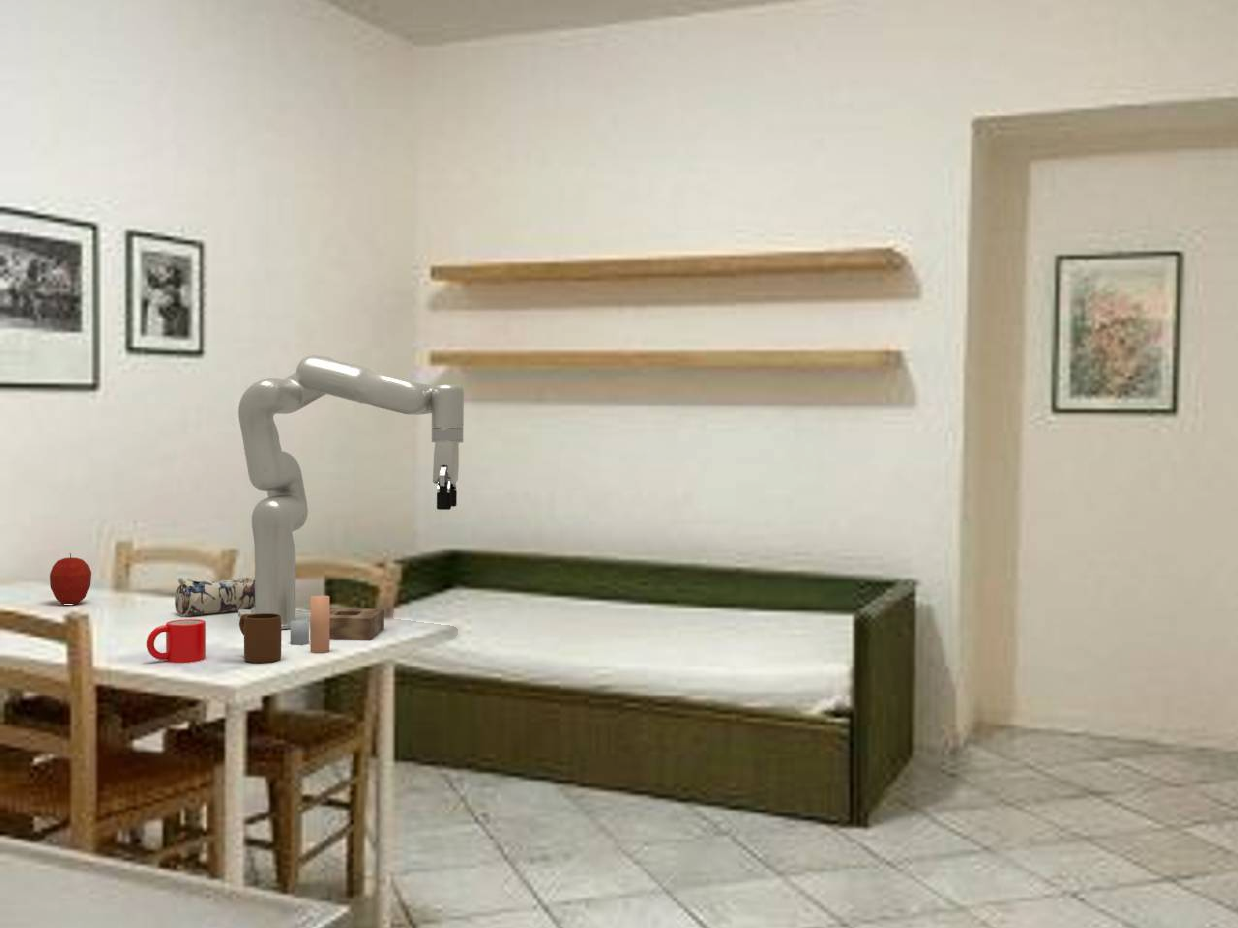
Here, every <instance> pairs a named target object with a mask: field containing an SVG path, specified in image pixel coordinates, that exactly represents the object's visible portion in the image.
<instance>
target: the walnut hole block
mask: <svg viewBox="0 0 1238 928" xmlns="http://www.w3.org/2000/svg"><path fill="white" fill-rule="evenodd" d="M309 617H310V618H309V636H310V635H311V616H309ZM384 629H385V608H361V607H360V608H359V607H358V608H355V607H354V608H350V607H329V640H337V641H338V640H339V641H341V640H343V641H344V640H345V641H346V640H347V641H372V640H373V639H374V638H376V637H377V636H378V635H380V634H381V632H383V631H384Z"/></svg>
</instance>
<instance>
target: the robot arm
mask: <svg viewBox="0 0 1238 928" xmlns="http://www.w3.org/2000/svg"><path fill="white" fill-rule="evenodd" d="M325 395H327V396H328V395H329V396H333V397H336V398H337V397H338V398H341V399H345V400H348V401H352V402H355V403H359V404H365V405H369V406H373V407H376V408H381V409H383V410H387V411H392V412H394V413H400V414H405V415H414V416H416V415H418V416H419V415H427V414H428V415H429V414H431V443H435V444H434V450H433V474H432V482H433V484H435V485H436V484H437V492H436V509H437V510H439V511H440V510H441V511H442V510H444V511H446V510H448V511H449V510H451V509H452V507H457V506H458V505H457V503H458V502H457V501H458V499H457V494H458V493H457V492H458V491H457V482H458V480H459V465H460V464H459V463H460V462H459V460H460V459H459V458H460V457H459V456H460V453H459V452H460V448H459V446H460V445H459V443H461V444H462V443H464V421H465V420H464V419H465V418H464V415H465V412H464V410H465V409H464V408H465V407H464V406H465V404H464V403H465V402H464V401H465V400H464V398H465V392H464V388H463V386H462V385H459V384H454V383H452V384H451V383H449V384H448V383H447V384H446V383H445V384H444V383H443V384H435V385H433V384H427V383H420V382H412V381H406V380H402V379H397V378H394V377H390V376H386V375H381V374H379V373H375V372H374V371H372V370H371V369H369V368H367V367H364V366H360V365H356V364H352V363H349V362H345V361H340V360H337V359H333V358H331V357H328V356H324V355H323V356H322V355H316V354H315V355H314V354H313V355H308V356H305V357H304V358H302V359H301V360H300V361H299V362H298V363H297V365H296V369H295V373H293V374H291V375H290V376H288V377H285V378H283V379H282V378H271V377H270V378H269V377H268V378H264V379H261V380H258V381H255V382H254V383H252V384H251V385H250V386H249V387H248V388H247V389H246V390H245V391H244V393H243V394H242V395H241V397H240V400H239V402H238V409H237V416H238V424H239V427H240V432H241V438H242V443H243V450H244V456H245V461H246V468H247V474H248V478H249V481H250V484H251V485H252V486H253V487H254V488H256V489H257V490H259V491H262V492H266V493H267V497H265V498H263V499H261V500H260V501H258V503H256V505H255V506H254V508H253V511H252V514H251V528H252V535H253V536H252V537H253V544H254V545H253V546H254V576H255V607H253V608H251V609H239V610H238V611H237V616H238V617H239V618H240V617H241V616H242V615H244V614H258V613H273V614H279V615H280V616H281V630H289V629H290V630H291V621H293V620H302V619H301V618H298V617H296V545H295V539H294V535H293V533H294V532H295V531H297V530H299V529H301V528H302V527H303V526H304V525H305V523H306V522H307V520H308V513H309V510H308V501H307V496H306V490H305V486H304V480H303V475H302V471H301V467H300V465H299V462H298V461H297V459H296V458H295V457H294V456H293V455H292V454H291V453H289V452H286V451H283V450H282V447H281V442H280V434H279V430H278V428H277V426H276V423H275V421H274V416H275V415H276V414H281V415H282V414H283V415H285V414H291V413H295V412H298V411H299V410H301V409H302V408H304V407H306V406H308V405H309V404H311V403H313V402H315V401H317V400H319V399H320V398H322V397H324V396H325Z"/></svg>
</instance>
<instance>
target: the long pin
mask: <svg viewBox="0 0 1238 928" xmlns="http://www.w3.org/2000/svg"><path fill="white" fill-rule="evenodd" d="M329 608H330V596H329V595H321V594H320V595H311V596H310V617H311V635H310V634H309V644H310V647H309V648H310V653H312V654H325V653H329V652H330V639H329Z"/></svg>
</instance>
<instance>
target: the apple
mask: <svg viewBox="0 0 1238 928" xmlns="http://www.w3.org/2000/svg"><path fill="white" fill-rule="evenodd" d="M71 553H72V552H69V557H64V558H63V557H62V558H61V559H58V560H57V561H56V562H55V563H54V565H53V566H52V568H51V571H50V574H49V581H50V585H49V586H50V589H51V591H52V593H53V596H54V598H55V599H56V600H57V602H59V603H60V604H61V603H62V604H76V605H78V603H79V604H80V603H81V602H82V601H83V600H84V599H85V598H86V597H87V595H88V592H89V590H90V587H91V580H92V571H91V569H90V565H89V564H88V563H87V562H86V561H85V560H84V559H82V558H80V557H72V554H71ZM62 604H61V605H62Z"/></svg>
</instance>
